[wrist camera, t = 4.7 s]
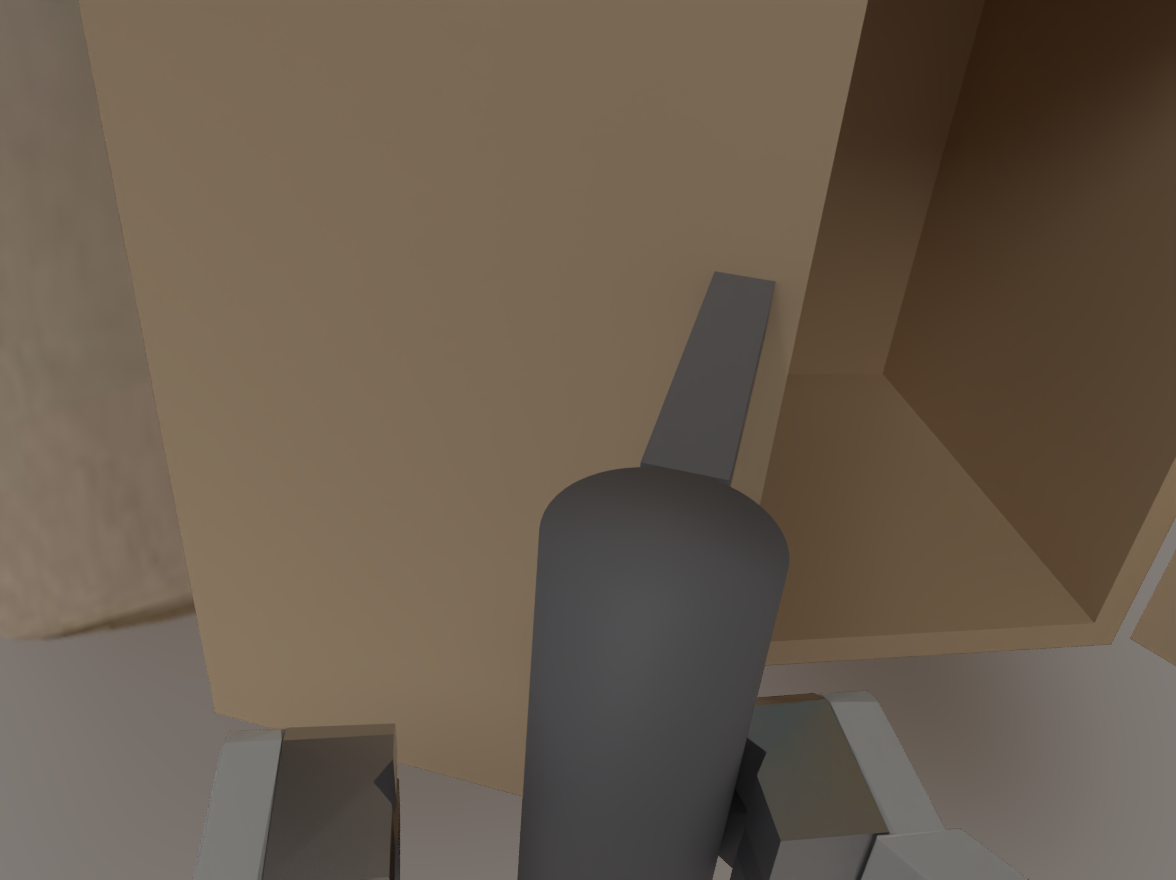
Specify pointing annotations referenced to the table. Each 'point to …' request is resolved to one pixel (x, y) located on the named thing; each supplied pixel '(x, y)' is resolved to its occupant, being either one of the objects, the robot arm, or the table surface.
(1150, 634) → the flap
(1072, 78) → the carton
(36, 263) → the table surface
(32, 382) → the table surface
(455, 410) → the flap
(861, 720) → the robot arm
